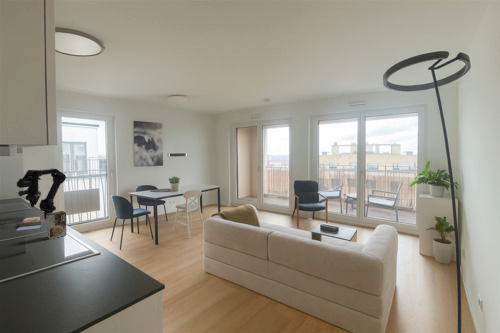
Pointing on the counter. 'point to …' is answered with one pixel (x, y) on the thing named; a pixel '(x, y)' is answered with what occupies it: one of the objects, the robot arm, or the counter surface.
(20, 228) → the mat
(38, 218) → the tile
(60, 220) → the coffee box
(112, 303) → the counter surface
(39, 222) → the plate
